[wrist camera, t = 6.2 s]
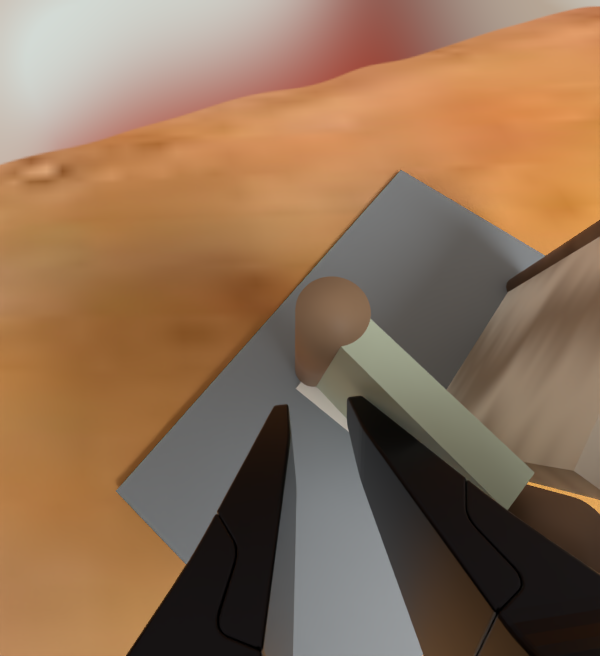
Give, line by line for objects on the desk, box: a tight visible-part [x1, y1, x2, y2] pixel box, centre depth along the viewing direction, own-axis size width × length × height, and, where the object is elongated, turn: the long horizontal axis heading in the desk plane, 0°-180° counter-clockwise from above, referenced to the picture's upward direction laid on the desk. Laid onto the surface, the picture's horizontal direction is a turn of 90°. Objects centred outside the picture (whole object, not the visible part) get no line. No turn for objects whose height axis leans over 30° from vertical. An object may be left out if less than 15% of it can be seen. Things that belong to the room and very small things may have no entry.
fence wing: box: [295, 276, 535, 510], centre depth 10 cm, size 6×2×8 cm, turn 43°
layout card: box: [116, 170, 545, 656], centre depth 15 cm, size 24×14×1 cm, turn 141°
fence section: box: [447, 220, 600, 574], centre depth 11 cm, size 14×2×8 cm, turn 141°
